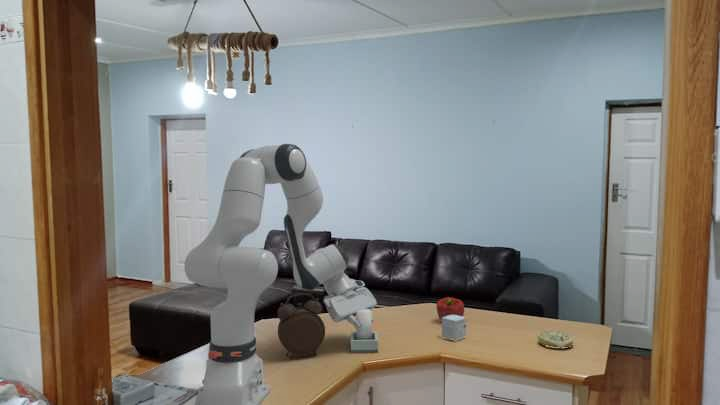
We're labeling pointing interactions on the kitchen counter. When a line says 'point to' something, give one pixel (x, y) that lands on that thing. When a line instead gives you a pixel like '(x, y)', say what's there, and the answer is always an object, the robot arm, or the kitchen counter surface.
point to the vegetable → (450, 307)
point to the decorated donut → (555, 339)
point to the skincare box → (453, 327)
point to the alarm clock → (301, 326)
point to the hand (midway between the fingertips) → (365, 325)
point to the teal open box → (364, 344)
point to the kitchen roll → (364, 324)
